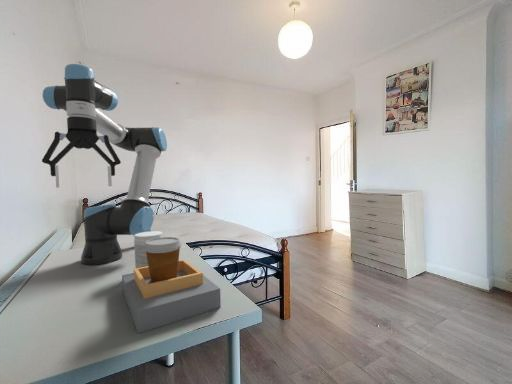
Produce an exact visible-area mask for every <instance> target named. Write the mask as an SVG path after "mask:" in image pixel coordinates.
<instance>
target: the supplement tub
mask: <svg viewBox="0 0 512 384" xmlns="http://www.w3.org/2000/svg"><path fill="white" fill-rule="evenodd" d="M163 235H164V234H163V231H157V230H154V231H153V230H152V231H150V232H142V233H138V234H135V235H133V237H134V239H133V243H134V245H133V246H134V262H135V263H134V265H135V266H134V267H135V269H136V268H141V267H146V266H148V261H147V255H146V251H145V249H144V246H145V243H146V241H148V240H151V239H155V238H162V237H164V236H163Z"/></svg>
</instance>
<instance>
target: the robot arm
mask: <svg viewBox="0 0 512 384" xmlns="http://www.w3.org/2000/svg"><path fill="white" fill-rule="evenodd" d="M94 73H95V72H94V71H93V69H92V68H90V66H89V67H88V66H87V65H83V64H78V63H70V64H67V65H65V67H64V77H63V80H64V85H51V86H45V88H44V89H43V90H42V99H43V102H44V103H45V105H46V106H47V107H49V108H50V109H51V110H52V109H54V110H58V111H59V110H63V111H65V112H66V116H67V118H66V125H67V126H66V127H67V131H66V133H64V132H63V133H62V132H59V131H55V132H54V137H53V140H52V142H51V144H50V145H49V147H48V149H47V151H46V153H45V154H44V156H43V158H42V159H41V162H42V163H44V164H47V165H49V167H50V176H51V177H55V187H56V189H57V188H61V181H60V179H61V178H60V177H61V175H60V167H59V166H60V165H58V163H59V162H60V161H61V160H62V159H63V158H64V157H65V156H66V155H67V154H68V153H69V152H70V151H71V150H72V149H74V148H75V149H79V150H80V149H86V150H90V149H93V150H94V151H96V153H97V154H98V155H100V156H101V158H102V159H103V160H104V161H105V162H106V163H107V164H108V166H107V178H108V179H107V183H108V187H112V186H113V182H112V177H114V176H115V175H116V166H117V165H120V164H121V163H122V161H121V160H120V158H119V156H118V155H117V153H116V152H115V151H116V150H114V148H113V146H116V147H118V148H121V149H122V150H126V151H128V152H135V153H136V158H135V162H134V166H133V169H132V174H131V178H130V183H129V186H128V192H127V195H126V198H124V199H123V200H122V201H121V204H120V207H119V206H117V205H116V204H115V203H110V204H102V205H96V206H90V207H89V206H88V207H86V208H85V209H84V211H83V225H84V240H85V241H84V242H85V243H84V247H83V250H82V253H81V257H80V263H81V264H83V265H89V266H93V265H104V264H108V263H111V262H116V261H118V260H121V258H123V250H122V249H121V248H122V247H121V246H120V243H119V241H118V236H134V235H135V234H138V233H142V232H148V231H149V230H150V228H152V226H153V224H154V218H155V216H154V214H155V213H154V210H153V208H152V207H151V204H150V203H149V197H150V191H151V187H152V181H153V177H154V174H155V173H154V172H155V168H156V162H157V159H159V158H160V156H162V155H161V153H162V152H166V151H167V148H168V142H167V136H166V134H165V131H164V130H163V129H162V128H161V127H157V126H155V127H154V126H152V127H126V126H124V125H122V124H120V123H116V122H114V121H113V120H112V119H111V118H110V117H108V116H107V115H105V114H104V113H103V112H102V111H108V112H109V111H113V110H114V109H116V107H117V106H118V105H119V97H118V96H117V93H115V92H114V90H111V89H110V88H109V87H107V86H105V85H103V84H101V83H100V82H98V81H96V80H95V78H96V77H95V74H94ZM99 109H100V110H99ZM101 110H102V111H101ZM98 133H99V134H101V135H98ZM64 139H67V140H68V142H69V143H68V144H67V145H66V146H65V147H64V148H63V149H62V150H61V151H60V152H59V153H58V154H57V155H55V157H54V158H53V159H52V160H50V159H51V158H52V156H53V154H54V152H55V151H56V149H57V147H58V145H59V143H60V141H63V140H64ZM98 141H100V142H101V143H103V144H104V146H105V147H106V148H107V150H108V152H109V154H110V155H111V158H110V157H109V156H108V155H107V154H106V153H105V152H104V151H103V150H102V149H101V147H99V145H97V144H96V143H98ZM111 144H112V145H113V146H112V145H111ZM112 159H113V160H112Z"/></svg>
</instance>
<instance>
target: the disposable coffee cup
mask: <svg viewBox="0 0 512 384" xmlns="http://www.w3.org/2000/svg"><path fill="white" fill-rule="evenodd" d="M181 247H182V242H181V239H180V238H179V237H173V236H165V237H164V236H163V237H162V238H155V239H151V240H148V241H146V243H145V246H144V249H145V251H146V255H147V261H148V266H149V272H150V278H151V283H155V282H159V281H164V280H168V279H172V278H177V272H178V262H179V260H180V251H181V250H180V248H181Z"/></svg>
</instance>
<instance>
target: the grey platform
mask: <svg viewBox="0 0 512 384" xmlns="http://www.w3.org/2000/svg"><path fill="white" fill-rule="evenodd" d="M121 280H122V281H121V282H122V283H121V284H122V286H121V287H122V293H123V297H124V298H125V302H126V304H127V306H128V307H127V308H128V309H129V313H130V315H131V319H132V321H133V323H134V326H135V329H136V332H137V334H140V333H141V334H142V333H143V332H147V331H150V330H154V329H157V328H159V327H162V326H166V325H169V324H172V323H176V322H178V321H181V320H184V319H189V318H190V317H194V316H199V315H200V314H204V313H207V312H209V311H213V310H216V309H218V308H221V307H222V306H221V301H222V300H221V288H220V287H219V286H218V285H216V283H214V282H212V280H211V279H209V278H208V277H206V276H205V275H204V274H203V272H202V271H201V270H199V269H198V268H197V267H196V266H194V265H193V264H192V263H190V262H189V261H188V260H186V259H185V258H184V259H179V262H178V272H177V278H172V279H168V280H164V281H159V282H155V283H151V278H150V272H149V266H146V267H141V268H136V267H135V268H133V272H132V273H127V274H121Z"/></svg>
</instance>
